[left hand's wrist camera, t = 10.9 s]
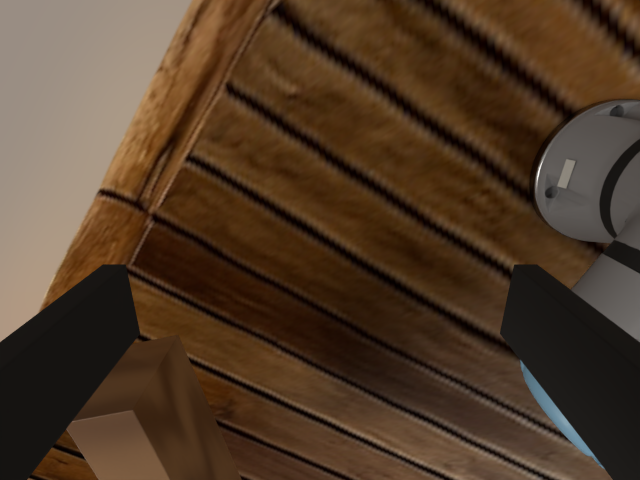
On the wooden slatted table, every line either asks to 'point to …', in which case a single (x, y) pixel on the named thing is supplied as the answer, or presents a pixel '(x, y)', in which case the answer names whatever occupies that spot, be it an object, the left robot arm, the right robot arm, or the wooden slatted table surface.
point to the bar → (152, 420)
